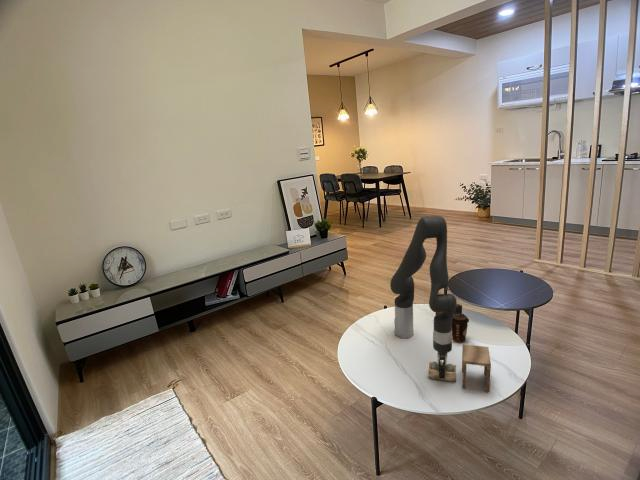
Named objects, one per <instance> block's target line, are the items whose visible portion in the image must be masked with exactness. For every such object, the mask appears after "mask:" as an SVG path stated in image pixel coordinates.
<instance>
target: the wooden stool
mask: <svg viewBox="0 0 640 480" xmlns="http://www.w3.org/2000/svg"><path fill="white" fill-rule="evenodd" d="M490 356H491V355H490V350H489V346H483V345H481V346H480V345H473V344H463V343H462V355H461V357H462V358H461V359H462V362H461V372H462V385H461V387H462V389H464V390H466V387H467V365H471V366H472V365H473V366H479V367H480V366H481V367H484V368H483V375H484V383H485V392H486V393H488V392H490V389H491V371H492V363H491V357H490Z"/></svg>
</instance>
